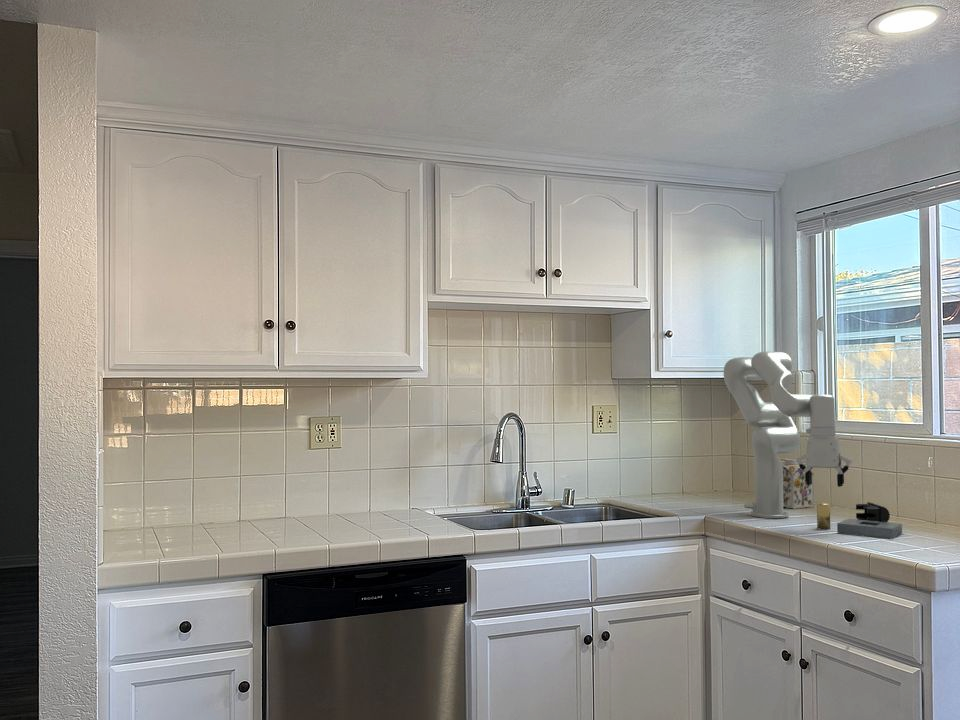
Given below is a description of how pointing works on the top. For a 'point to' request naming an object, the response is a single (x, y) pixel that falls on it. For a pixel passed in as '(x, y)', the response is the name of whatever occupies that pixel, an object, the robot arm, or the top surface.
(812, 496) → the decorative jar
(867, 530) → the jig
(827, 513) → the beige cylinder
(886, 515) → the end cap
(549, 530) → the top surface
